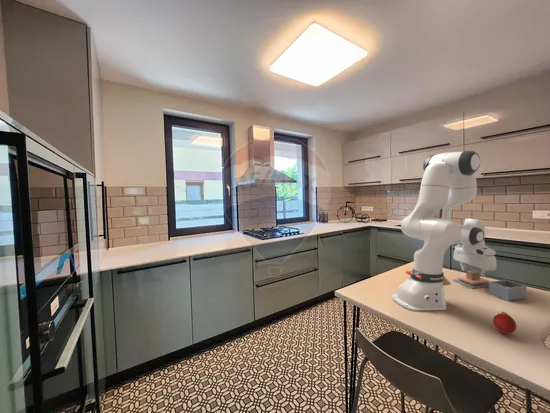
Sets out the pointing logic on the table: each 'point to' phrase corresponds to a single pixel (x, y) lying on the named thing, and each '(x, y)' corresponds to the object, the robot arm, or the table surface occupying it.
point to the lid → (473, 278)
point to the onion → (504, 323)
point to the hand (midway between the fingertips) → (472, 273)
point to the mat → (471, 285)
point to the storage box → (507, 290)
